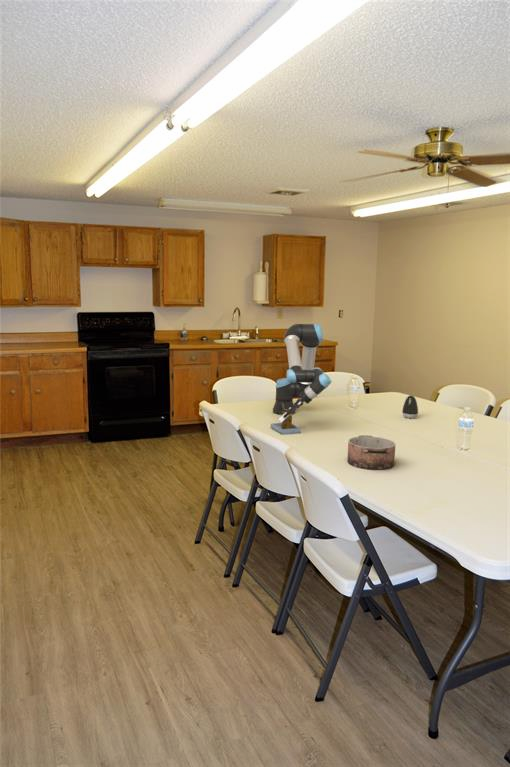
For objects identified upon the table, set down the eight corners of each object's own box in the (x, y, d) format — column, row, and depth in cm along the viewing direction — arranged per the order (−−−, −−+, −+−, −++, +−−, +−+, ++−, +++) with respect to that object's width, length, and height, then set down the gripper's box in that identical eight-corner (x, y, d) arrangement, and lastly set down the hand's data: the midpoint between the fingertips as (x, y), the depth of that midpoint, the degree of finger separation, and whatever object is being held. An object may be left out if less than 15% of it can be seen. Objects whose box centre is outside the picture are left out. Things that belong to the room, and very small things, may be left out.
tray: (288, 427, 352) (288, 422, 351) (300, 433, 337) (300, 428, 336) (270, 428, 347) (270, 423, 347) (281, 434, 332) (281, 429, 332)
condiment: (294, 429, 341) (295, 409, 339) (282, 431, 336) (283, 411, 334) (287, 427, 347) (287, 407, 345) (275, 428, 342) (276, 408, 340)
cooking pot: (342, 454, 295) (343, 434, 294) (385, 455, 296) (386, 434, 294) (353, 472, 266) (354, 450, 264) (401, 473, 266) (403, 450, 265)
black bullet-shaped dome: (416, 416, 391) (417, 394, 389) (418, 419, 381) (420, 397, 379) (400, 415, 392) (402, 393, 390) (403, 419, 382) (404, 396, 380)
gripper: (309, 403, 323) (282, 427, 329) (315, 395, 347) (290, 418, 353) (300, 393, 324) (273, 417, 330) (307, 386, 348) (281, 409, 354)
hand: (282, 418), depth 341 cm, fingers open, 13 cm apart
